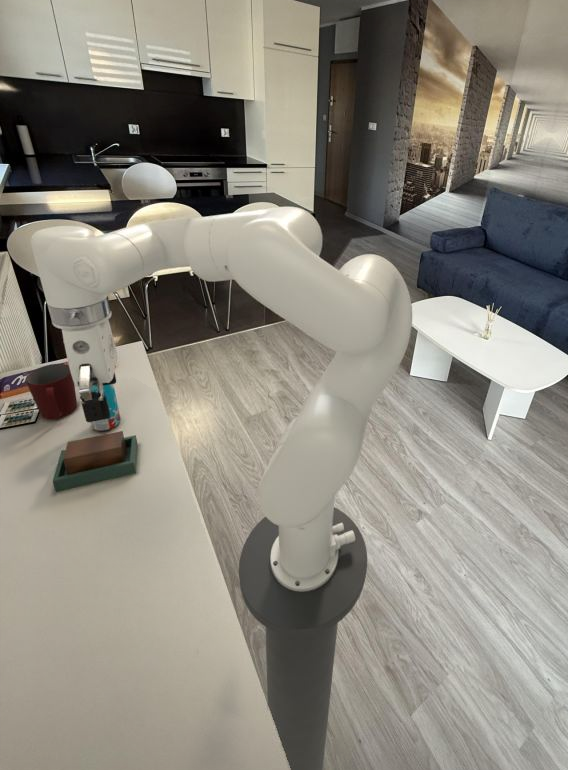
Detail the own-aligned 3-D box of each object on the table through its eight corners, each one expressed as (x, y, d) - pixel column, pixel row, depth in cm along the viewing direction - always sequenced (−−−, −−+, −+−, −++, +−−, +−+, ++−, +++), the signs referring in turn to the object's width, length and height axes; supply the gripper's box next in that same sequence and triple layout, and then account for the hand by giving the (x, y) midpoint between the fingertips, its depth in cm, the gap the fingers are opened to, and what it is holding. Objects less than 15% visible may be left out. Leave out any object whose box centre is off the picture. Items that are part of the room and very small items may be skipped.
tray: (137, 445, 92) (135, 435, 91) (135, 473, 85) (133, 462, 84) (64, 461, 86) (61, 450, 85) (55, 492, 79) (52, 481, 78)
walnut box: (69, 480, 81) (62, 459, 79) (73, 462, 85) (67, 441, 83) (125, 467, 85) (120, 446, 83) (127, 451, 89) (122, 430, 87)
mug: (82, 422, 97) (72, 385, 92) (36, 434, 92) (23, 396, 88) (80, 395, 106) (71, 360, 101) (38, 405, 101) (27, 369, 96)
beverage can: (124, 425, 97) (114, 374, 91) (97, 436, 93) (84, 384, 87) (116, 413, 101) (106, 363, 95) (89, 423, 97) (76, 372, 91)
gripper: (102, 332, 54) (123, 429, 61) (115, 286, 68) (131, 369, 75) (35, 340, 51) (65, 441, 58) (63, 290, 65) (84, 376, 72)
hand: (102, 400), depth 67 cm, fingers open, 9 cm apart
